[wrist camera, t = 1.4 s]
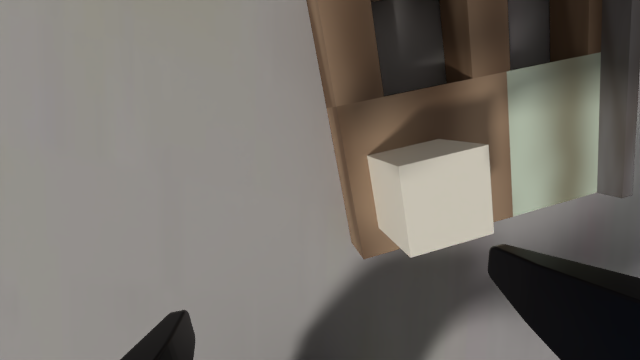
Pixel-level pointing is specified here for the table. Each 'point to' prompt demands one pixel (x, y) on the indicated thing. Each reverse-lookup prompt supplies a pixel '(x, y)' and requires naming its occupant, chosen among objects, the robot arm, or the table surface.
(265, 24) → the table surface
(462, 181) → the block
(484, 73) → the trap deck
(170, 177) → the table surface
